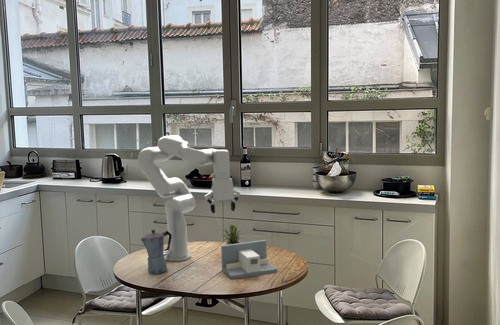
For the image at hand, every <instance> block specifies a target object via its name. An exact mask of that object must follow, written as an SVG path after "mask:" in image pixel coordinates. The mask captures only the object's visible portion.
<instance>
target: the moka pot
mask: <svg viewBox="0 0 500 325" xmlns="http://www.w3.org/2000/svg"><path fill="white" fill-rule="evenodd" d="M168 235H169V240H168V239H167V242H168V243H167V247H166V248H165V249H164V243H165V242H164V240H165V239H164V238H165V237H166V236H168ZM171 238H172V235H171V234H170V233H169V232H168V230H165V231H162V232H156V230H155V229H151V233H147V234H146V235H144V236H143V237H141V238H140V241H141V242H142V243H143V245H144V246H145V248H146V249H145V250H146V253H147V256H148V257H147V273H148V274H150V275H151V274H152V275H157V274H162V273H165V272H166V271H167V270H168V267H167V261H166V257H165V256H164V255H163V252H164V251H167V250H169V247H170V242H171Z"/></svg>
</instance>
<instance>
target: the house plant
mask: <svg viewBox="0 0 500 325" xmlns="http://www.w3.org/2000/svg"><path fill="white" fill-rule="evenodd" d="M229 225H230V226H229V231H228V230H227V228H226V227H225V226H223V225H221V227H222V228H221V229H220V230H222V231H224V232H225V234H223V235H222V236H221V238H222V237H223V238H224V241H225V240H226V242H225V243H226V244H225V245H230V244H237V243H241V241H240V239H241V238H240V235H242V234H244V232H243V233H240V231H241V230H242V228H240V229H239V230H238V226H237V225H236V224H235V223H233V224H232V223H231V222H229ZM223 228H224V230H223ZM237 230H238V231H237ZM229 232H230V233H229Z"/></svg>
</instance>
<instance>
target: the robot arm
mask: <svg viewBox="0 0 500 325" xmlns="http://www.w3.org/2000/svg"><path fill="white" fill-rule="evenodd" d="M173 157H178V158H180V159H181V160H182V161H183V162H185V163H187V164H190V165H193V166H197V167H204V166H209V165H213V173H211V174H210V178H212V182H211V191H210V192H208V193H207V194H205V195H204V198H205V200H206V202H207V203H209V204H210V212H211V213H212V214H215V213H216V209H215V208H216V207H215V206H216V205H215V203H216V202H219V201H229V200H230V210H231V211H232V212H235V209H236V202H237V201H238V200H239V198H240V195H241V193H240V192H239V191H237V190H235V189H234V183H233V178H231V172H230V169H231V168H230V151H229V150H227V149H215V148H206V149H196V148H192V147H191V144H190V143H189V142H188V141H187V140H184V139H183V138H182V137H181V136H180V135H176V134H174V135H164V136H161V137H160V138H159V139H158V141H157V145H156V146H150V147H146V148H144V149H142V150H140V152H138V155H137V164H138V167H139V169H140V171H141V172H142V174H143V175H144V176H145V177H146V179H147V180H148V181H149V183H150V184H151V186H152V188H153V189H154V190H155V192H156V193H157V195H158V196H159V197H161V198H162V199H166V198H168V199H167V200H166V201H165V202H164V212H165V215H166V224H167V231H168V232H169V233H170V234H171V235H172V238H171V242H170V247H169V250H167V251H165V250H163V255H164V257H165V260H167V261H171V262H181V261H186V260H189V259H190V258H191V257H192V254H191V253H190V252H189V251H188V250H189V249H188V234H187V232H188V231H187V230H188V228H187V221H186V218H185V215H184V214H186V213H189V212H191V211H193V210H194V208H195V207H196V199H195V196H193V194H192V192H191V191H190V189H189V188H188V186H187V184H185V182H184V181H183V180H182V179H181V178H179V177H176V176H175V177H168V176H167V175H166V174H165V172H164V171H163V169H162V168H160V167H159V166H158V165H157V164H159V163H164V162H167V161H168V160H169V161H170V160H171V158H173ZM210 197H211V199H210ZM168 240H169V235H167V241H168Z"/></svg>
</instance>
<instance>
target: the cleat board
mask: <svg viewBox="0 0 500 325" xmlns="http://www.w3.org/2000/svg"><path fill="white" fill-rule="evenodd" d="M220 248H221V251H220V252H221V270H222V271H223V272H224V273H225V274H226V275H227V276H228V277H229V278H230V279H231V280H235V279H240V278H247V277H248V278H249V277H253V276H259V275H268V274H273V273H277V272H278V268H277V267H276V266H274V265H273V264H271V263H270V262H268V257H267V240H266V239H262V240H254V241H248V242H247V241H245V242H240V243H237V244H230V245H227V244H225V245H224V244H223V245H221V246H220ZM246 249H251V250H253V251H254V252H255V253H257V254H258V255H259V256H260V271H257V272H251V273H247V272H246V271H245V270H244V269H243V268H242V262H239V250H246Z"/></svg>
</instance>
